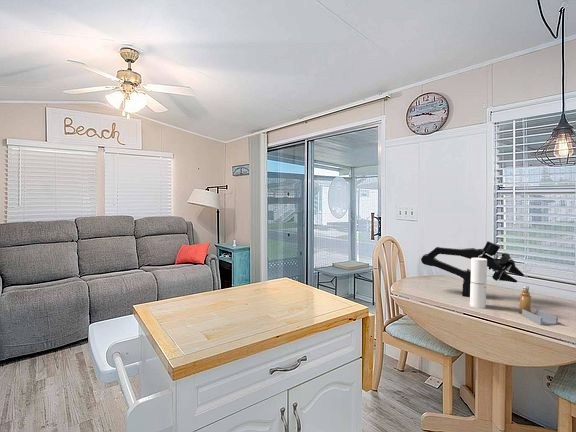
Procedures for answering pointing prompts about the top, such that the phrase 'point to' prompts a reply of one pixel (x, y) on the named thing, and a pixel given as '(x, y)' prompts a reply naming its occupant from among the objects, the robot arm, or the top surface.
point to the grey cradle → (540, 317)
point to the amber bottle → (525, 300)
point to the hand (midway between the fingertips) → (520, 278)
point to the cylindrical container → (478, 282)
